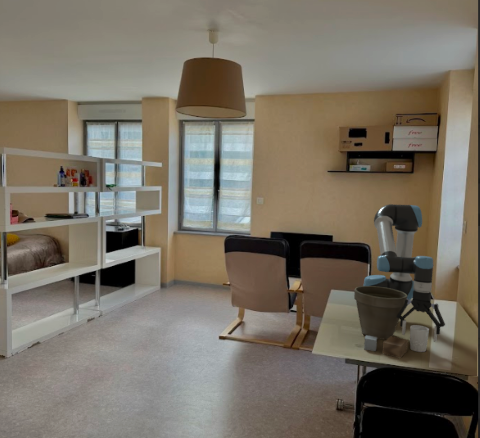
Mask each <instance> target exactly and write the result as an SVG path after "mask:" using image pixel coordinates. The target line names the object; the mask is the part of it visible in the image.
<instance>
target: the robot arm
mask: <svg viewBox="0 0 480 438" xmlns="http://www.w3.org/2000/svg"><path fill="white" fill-rule="evenodd" d="M373 225H374V228H375V229H376V231H377V232H376V233H377V239H378V246H379V247H378V248H379V253H380V255H378V256H377V259H376V268H377V271H379V272H385V273H391V274H390V275H389V278H387V276H385V275H383V274H382V275H381V274H374V275H373V274H372V275H367V276H366V277H364V280H363V285H362V286H376V287H384V288H390V289H394V290H398V291H401V292H404V293H405V294H407V299H406V300H405V303H404V305H403V307H402V308H401V310H400V312H399V313H398V315H397V316H396V317H397V318H399V321H400V324H399V326H400V327H401V328H402V329H401V336H405V334H406V329H407V328H406V327H407V320H406V318H407V317H408V316H409V315H410V314H412V313H413V312H414V311H416V312H421V313H426V314H427V315H428V317H429V318H430V320H431V321H432V323H433V324H434V325H435V326H434V331H433V342H434V343H436V342H437V341H438V335H440V334H441V328H443V327H445V326H446V323H445V321H444V318H443V315H442V313H441V312H440V309H439V304H438V303H432V287H433V286H432V285H433V275H434V274H433V273H434V272H433V270H434V259H433V257H432V256H426V255H417V256H413V250H414V248H413V246H414V238H415V234H416V233H417V232H418V229H419V228H422V227H423V226H422V225H423V214H422V210H421V207H419V206H418V205H413V204H392V203H390V204H385V205H384V206H381V207H380V208H379V209H378V210H377V211H376V213H375V215H374V217H373ZM393 227H394V230H395V231H396V232H397V233H396V234H397V235H396V242H395V237H394V236H395V235H394V232H393ZM412 256H413V257H412ZM411 274H412V275H413V277H412V276H411ZM409 305H411V306H412V308H410V309H409V310H408V311H407V312H406V313H404V312H405V310H406V308H407V307H408V306H409ZM431 307H432V309H433V310H434V312H435V315H436V316H437V317H436V316H435V315H434V313H433V312H432V310H431V309H430V308H431Z"/></svg>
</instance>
